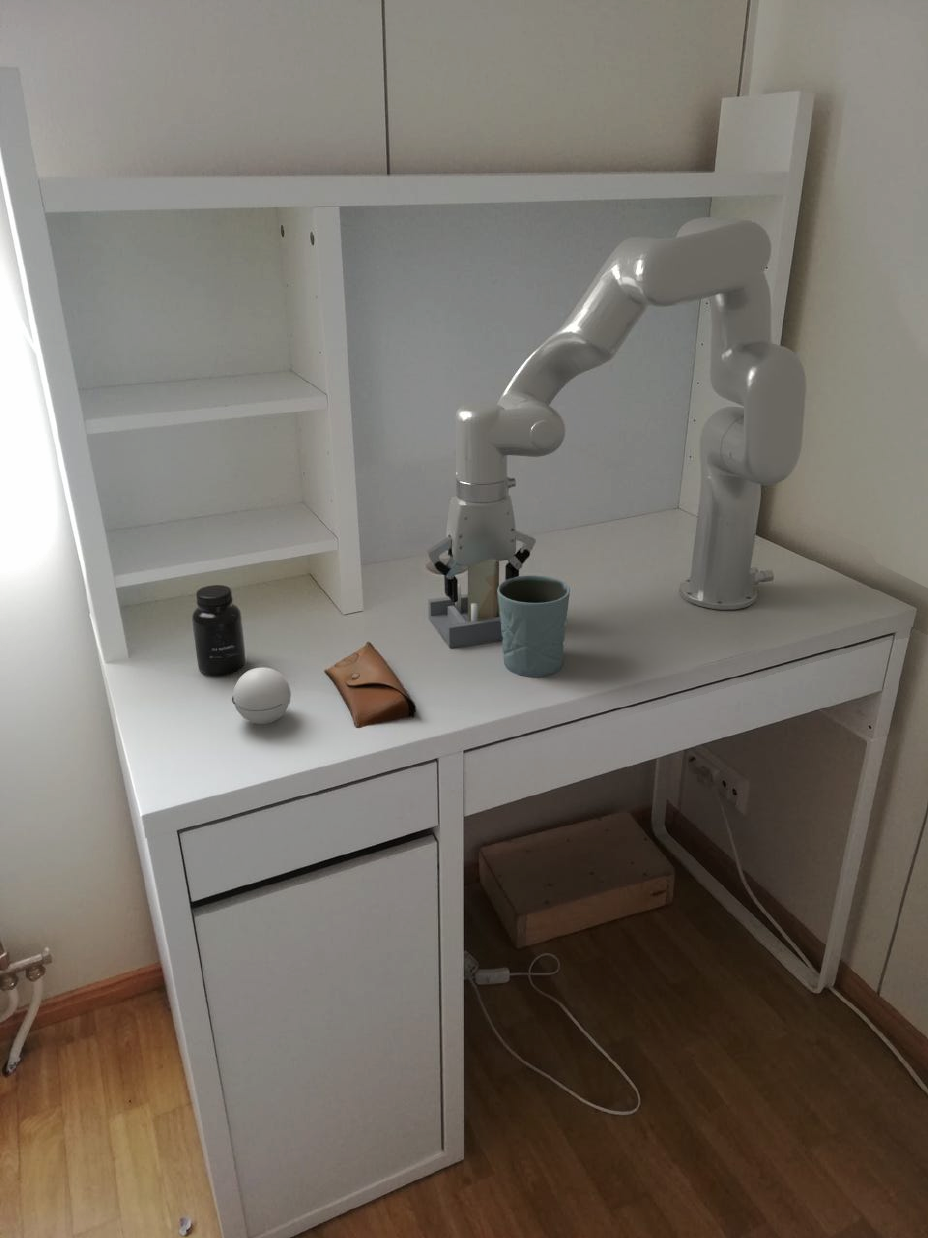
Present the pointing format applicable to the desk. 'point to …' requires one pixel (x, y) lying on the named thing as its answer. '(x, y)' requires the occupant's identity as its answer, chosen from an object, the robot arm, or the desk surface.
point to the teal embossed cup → (533, 624)
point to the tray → (462, 622)
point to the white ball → (261, 695)
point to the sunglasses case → (370, 688)
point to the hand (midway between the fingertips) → (482, 594)
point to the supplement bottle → (218, 632)
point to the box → (484, 588)
